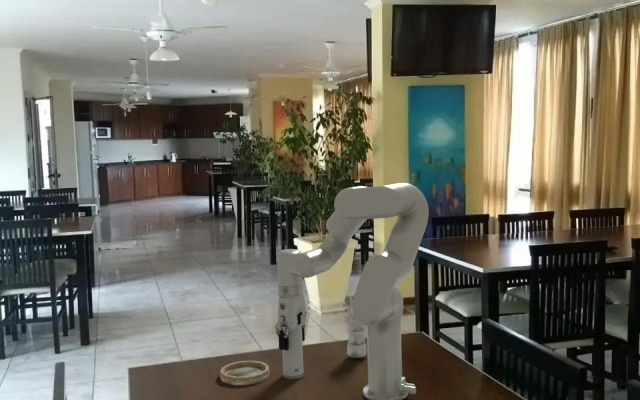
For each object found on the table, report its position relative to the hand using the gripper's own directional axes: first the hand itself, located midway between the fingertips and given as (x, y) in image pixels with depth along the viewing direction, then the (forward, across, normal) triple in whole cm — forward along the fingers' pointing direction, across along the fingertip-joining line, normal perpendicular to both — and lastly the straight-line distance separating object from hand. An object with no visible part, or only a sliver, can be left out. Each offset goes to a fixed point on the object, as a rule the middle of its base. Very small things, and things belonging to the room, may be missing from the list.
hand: (292, 344), depth 190 cm
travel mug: (+10, 0, 0) cm, 10 cm away
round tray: (+10, -6, +14) cm, 18 cm away
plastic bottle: (+10, +23, -11) cm, 27 cm away
